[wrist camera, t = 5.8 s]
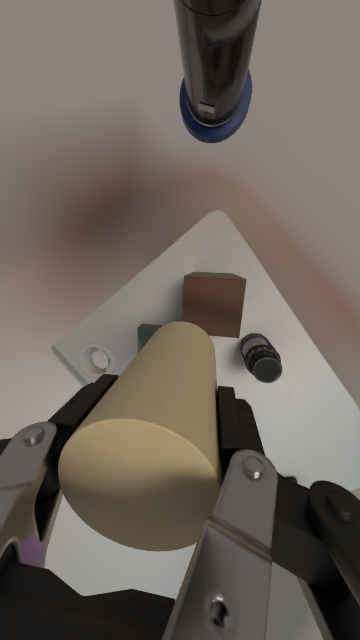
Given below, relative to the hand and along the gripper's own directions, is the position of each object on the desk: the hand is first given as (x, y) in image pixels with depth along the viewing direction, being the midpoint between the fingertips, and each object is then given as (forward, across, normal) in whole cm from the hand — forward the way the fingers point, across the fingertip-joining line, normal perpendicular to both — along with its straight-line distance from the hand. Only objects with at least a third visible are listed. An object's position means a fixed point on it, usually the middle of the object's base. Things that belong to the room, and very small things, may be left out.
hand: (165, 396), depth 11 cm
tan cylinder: (+5, 0, 0) cm, 5 cm away
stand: (+35, -2, -1) cm, 35 cm away
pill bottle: (+35, -12, +10) cm, 39 cm away
